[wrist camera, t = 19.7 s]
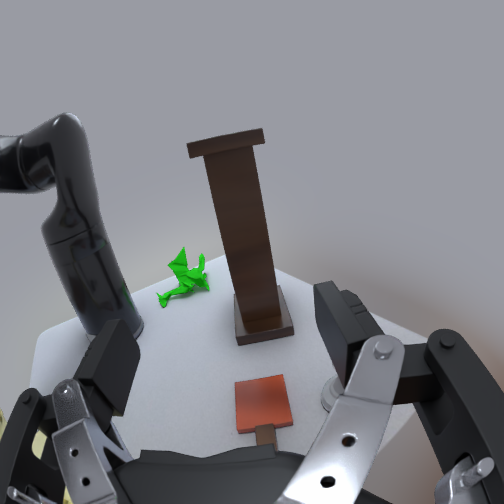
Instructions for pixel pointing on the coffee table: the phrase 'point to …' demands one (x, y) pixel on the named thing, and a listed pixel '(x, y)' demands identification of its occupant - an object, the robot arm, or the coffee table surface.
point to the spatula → (262, 407)
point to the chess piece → (331, 392)
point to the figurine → (185, 276)
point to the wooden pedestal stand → (244, 234)
